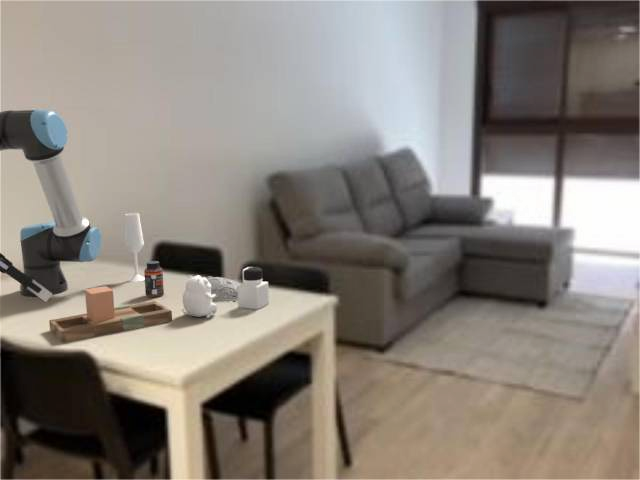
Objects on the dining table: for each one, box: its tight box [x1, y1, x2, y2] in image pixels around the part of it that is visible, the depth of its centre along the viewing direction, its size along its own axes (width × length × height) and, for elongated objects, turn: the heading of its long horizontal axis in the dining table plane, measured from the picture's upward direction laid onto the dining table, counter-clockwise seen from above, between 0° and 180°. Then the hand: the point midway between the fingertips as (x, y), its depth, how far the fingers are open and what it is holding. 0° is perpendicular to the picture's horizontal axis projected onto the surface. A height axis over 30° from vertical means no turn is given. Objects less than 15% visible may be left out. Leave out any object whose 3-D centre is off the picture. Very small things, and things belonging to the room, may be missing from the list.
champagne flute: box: [124, 212, 145, 283], centre depth 248 cm, size 7×7×24 cm
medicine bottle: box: [237, 266, 270, 310], centre depth 214 cm, size 7×7×12 cm
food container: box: [206, 276, 240, 303], centre depth 229 cm, size 16×25×7 cm, turn 45°
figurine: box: [181, 274, 218, 318], centre depth 204 cm, size 10×10×12 cm
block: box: [84, 285, 115, 322], centre depth 194 cm, size 6×6×8 cm
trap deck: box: [49, 300, 173, 344], centre depth 197 cm, size 13×31×3 cm, turn 125°
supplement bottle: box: [143, 260, 165, 298], centre depth 228 cm, size 6×6×11 cm
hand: (48, 297), depth 186 cm, fingers closed
